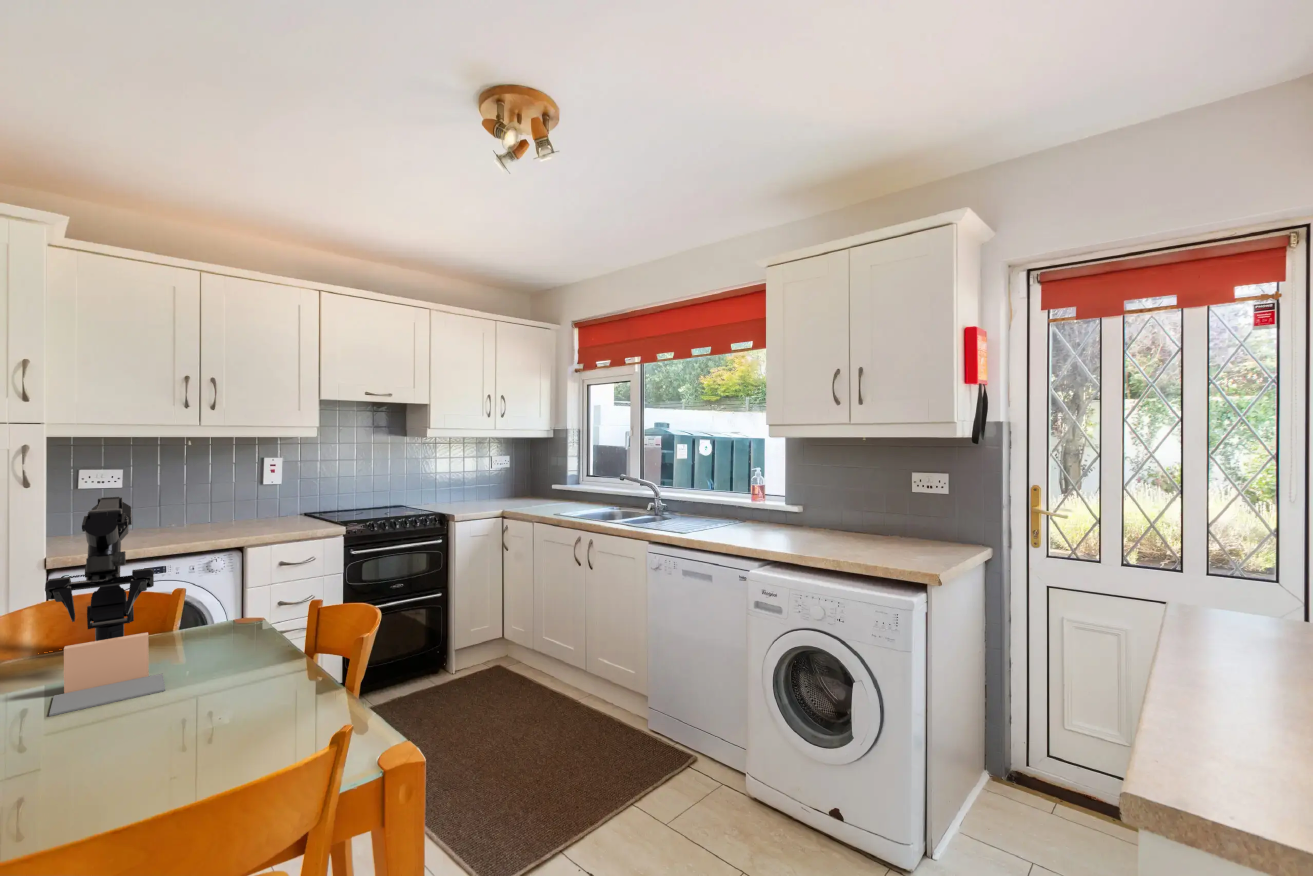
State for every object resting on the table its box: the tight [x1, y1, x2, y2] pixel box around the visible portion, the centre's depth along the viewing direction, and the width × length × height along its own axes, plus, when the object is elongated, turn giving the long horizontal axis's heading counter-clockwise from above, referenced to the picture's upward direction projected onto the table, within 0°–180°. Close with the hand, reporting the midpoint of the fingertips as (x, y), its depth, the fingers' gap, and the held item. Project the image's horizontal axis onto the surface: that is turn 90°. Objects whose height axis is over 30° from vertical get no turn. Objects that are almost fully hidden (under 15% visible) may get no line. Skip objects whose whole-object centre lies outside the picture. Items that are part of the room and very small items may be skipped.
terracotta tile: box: [63, 632, 150, 694], centre depth 136 cm, size 2×14×10 cm, turn 132°
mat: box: [48, 673, 166, 717], centre depth 131 cm, size 12×18×1 cm, turn 132°
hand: (100, 617), depth 140 cm, fingers open, 9 cm apart
